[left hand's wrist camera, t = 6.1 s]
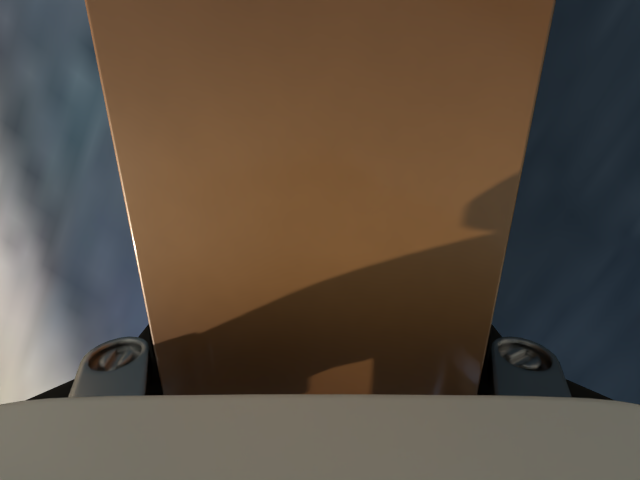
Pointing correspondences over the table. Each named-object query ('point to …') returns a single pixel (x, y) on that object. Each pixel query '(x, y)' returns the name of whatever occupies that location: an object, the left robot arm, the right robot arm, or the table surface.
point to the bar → (320, 184)
